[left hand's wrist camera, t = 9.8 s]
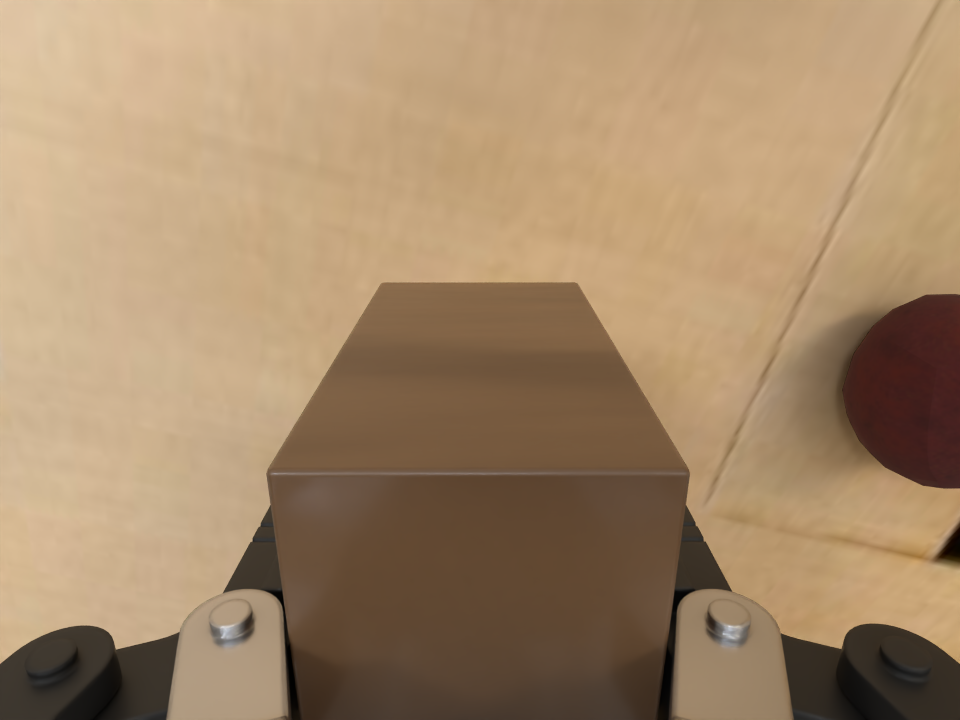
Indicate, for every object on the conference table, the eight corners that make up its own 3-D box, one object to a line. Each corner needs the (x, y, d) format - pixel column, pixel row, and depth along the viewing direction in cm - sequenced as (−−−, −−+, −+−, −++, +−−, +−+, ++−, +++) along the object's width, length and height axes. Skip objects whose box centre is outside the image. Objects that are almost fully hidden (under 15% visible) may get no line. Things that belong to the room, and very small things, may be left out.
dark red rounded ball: (816, 449, 30) (910, 540, 24) (807, 296, 28) (910, 350, 21) (974, 417, 30) (1115, 500, 23) (980, 258, 27) (1142, 301, 21)
